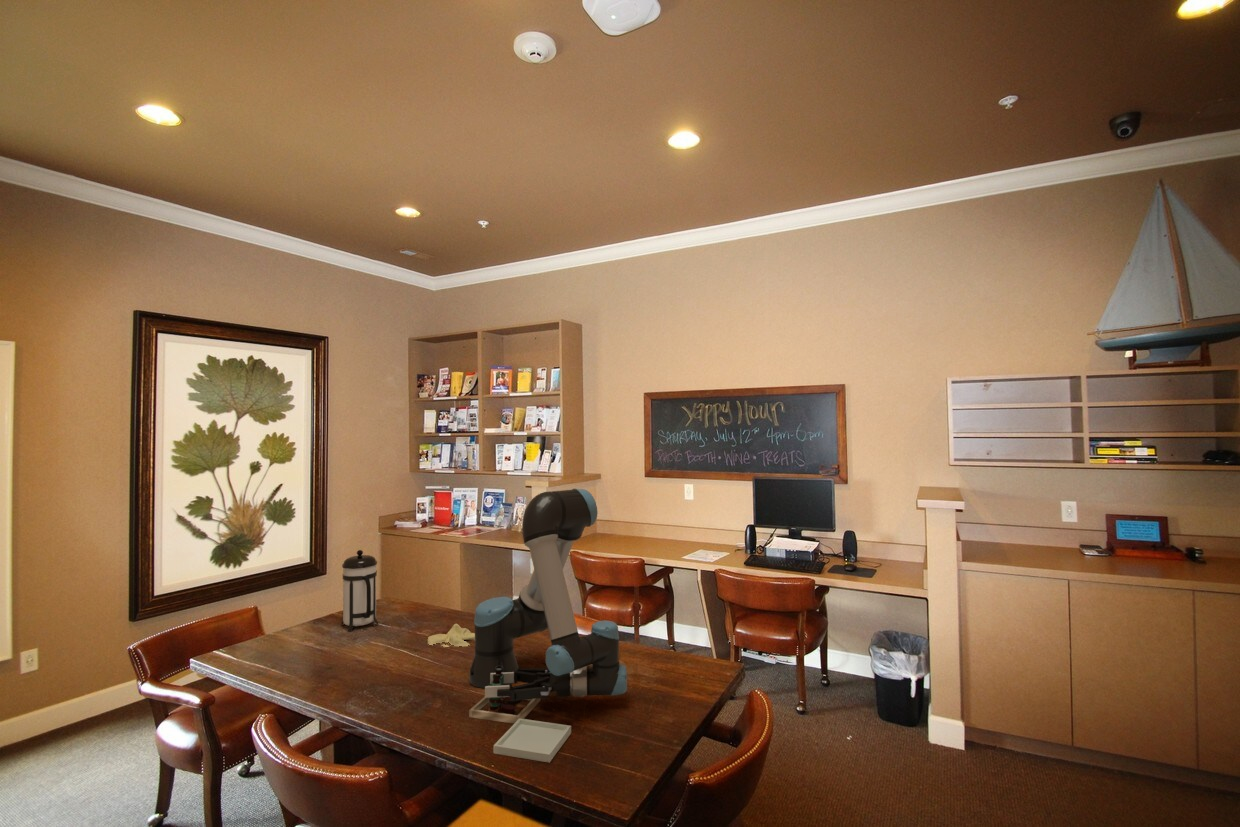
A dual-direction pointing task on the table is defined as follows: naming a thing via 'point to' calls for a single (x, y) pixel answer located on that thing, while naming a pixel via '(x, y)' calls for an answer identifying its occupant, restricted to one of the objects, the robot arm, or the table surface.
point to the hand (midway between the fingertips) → (488, 685)
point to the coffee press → (359, 590)
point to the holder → (501, 717)
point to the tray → (532, 740)
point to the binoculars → (496, 701)
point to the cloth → (453, 637)
